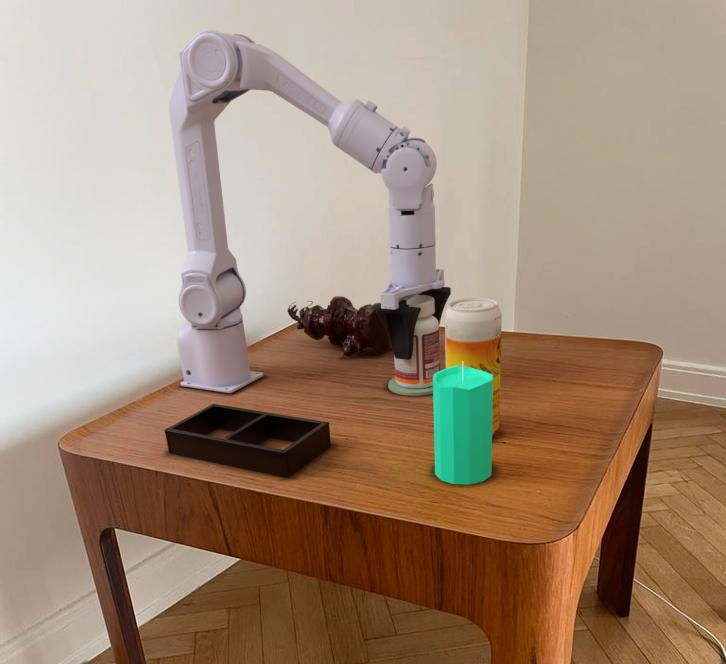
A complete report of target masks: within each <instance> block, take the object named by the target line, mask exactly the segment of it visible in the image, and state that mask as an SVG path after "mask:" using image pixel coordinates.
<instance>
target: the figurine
mask: <svg viewBox="0 0 726 664" xmlns="http://www.w3.org/2000/svg"><path fill="white" fill-rule="evenodd" d="M309 302H311V303H310V304H309V305H307V306H305V307H303V308H301V309H300V310H299V308H297V304H296V303H297V301H295V302H292V303H291V304H289V306H288V308H287V314H288V316H289V317H290V319H292V320H294V321H295V322H296V323H298V324H297V325H296V329H297V330H303V333H304V334H305V335H307V336H308V337H309V338H310V339H312V340H314V341H321V340H323V339H324V338H325V336H326V337H327V339H328V341H329V343H330V344H331V346H333V347H335V348H338V349H342V350H343V355H342V358H341V359H343V358H344V357H352V356H353V355H354V354H355V353H356V354H358V353H360V354H362V353H364V351H365V349H372V350H373V351H374V354H376V355H379V356H380V355H383V354H384V353H386V352H387V351H388V352H389V351H390V350H391V349H392V346H391V343H390V339H389V336H388V334H387V331H386V329H385V327H384V325H383V323H382V321H381V320H380V318H379V317H378V315H377V314H376V307H375V306H376V305H378V304H380V303H381V302H375V303H374V304H371V303H368V304H365V305H362V306H360V307H359V308H358V309H357V308H356V307H355V306H354V304H353V302H352V301H351V300H350V299H349V298H347V297H346V296H342V295H335V296H333V297H332V298H331V300H330V301H329V304H328V305H327V307H326V308H324V307H323V306H321V305H320V304H316V305H313V304H314V302H313V300H309V301H307V303H309ZM293 304H294V305H293ZM292 305H293V306H292ZM312 305H313V306H312ZM291 306H292V307H291ZM310 306H312V307H310ZM298 311H299V312H298ZM297 313H299V315H297Z"/></svg>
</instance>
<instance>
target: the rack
mask: <svg viewBox="0 0 726 664" xmlns="http://www.w3.org/2000/svg"><path fill="white" fill-rule="evenodd" d="M217 429H221V430H227V431H232V432H231V433H230V434H228V435H226V436H224V437H223V438H222V437H217V436H212V435H208V434H210V433H212V432H213V431H215V430H217ZM164 434H165V439H166V445H167V450H168V454H171V455H177V456H182V457H185V458H191V459H195V460H200V461H205V462H210V463H215V464H220V465H224V466H228V467H234V468H239V469H243V470H248V471H252V472H256V473H257V472H258V473H263V474H268V475H272V476H277V477H281V478H286V479H289V478H290V477H292V476H293V475H294V474H296V473H297V472H298V471H299V470H301V469H302V468H304V467H305V466H307V464H309V463H310V462H311V461H313V460H314V459H316V458H318V457H319V456H320V455H321V454H322V453H324V452H326V450H328V449H329V448H331V446H332V442H331V431H330V422H329V421H322V420H318V419H317V420H316V419H312V418H311V419H310V418H304V417H298V416H292V415H287V414H279V413H274V412H267V411H262V410H255V409H248V408H243V407H237V406H230V405H224V404H218V403H212V404H209V405H208V406H206V407H204V408H203V409H201V410H199V411H197V412H194V413H193V414H192V415H189V416H188V417H186V418H184V419H182V420H180V421H178V422H176V423H174V424H173V425H171V426H169V427H167V428H165V429H164ZM269 439H277V440H283V441H288V442H293V443H292V444H289V445H288V446H287V447H285V448H284V449H281V448H276V447H270V446H264V445H262V444H263V443H264V442H266V441H268V440H269Z"/></svg>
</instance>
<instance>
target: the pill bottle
mask: <svg viewBox="0 0 726 664" xmlns="http://www.w3.org/2000/svg"><path fill="white" fill-rule="evenodd" d="M407 304H409V307H418V308H421V311H420V313H419V315H418V318H417V321H416V326H415V331H414V341H413V352H412V357H411V359H409V360H405V359H396V358H395V356H394V355H393V359H394V361H393V362H394V377H395V379H396V382H397V384H398V385H400V386H402V387H405V388H427V387H430V386H433V377H434V373H436V372H439V371H441V354H440V353H441V351H440V350H441V349H440V348H441V347H440V325H439V322H438V320H437V319H436V318H435V317H434V316H432V314H434V313H435V305H434V298H433V297H430V296H426V295H416V296H415V297H413V298H411V299H409V300H407Z"/></svg>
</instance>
